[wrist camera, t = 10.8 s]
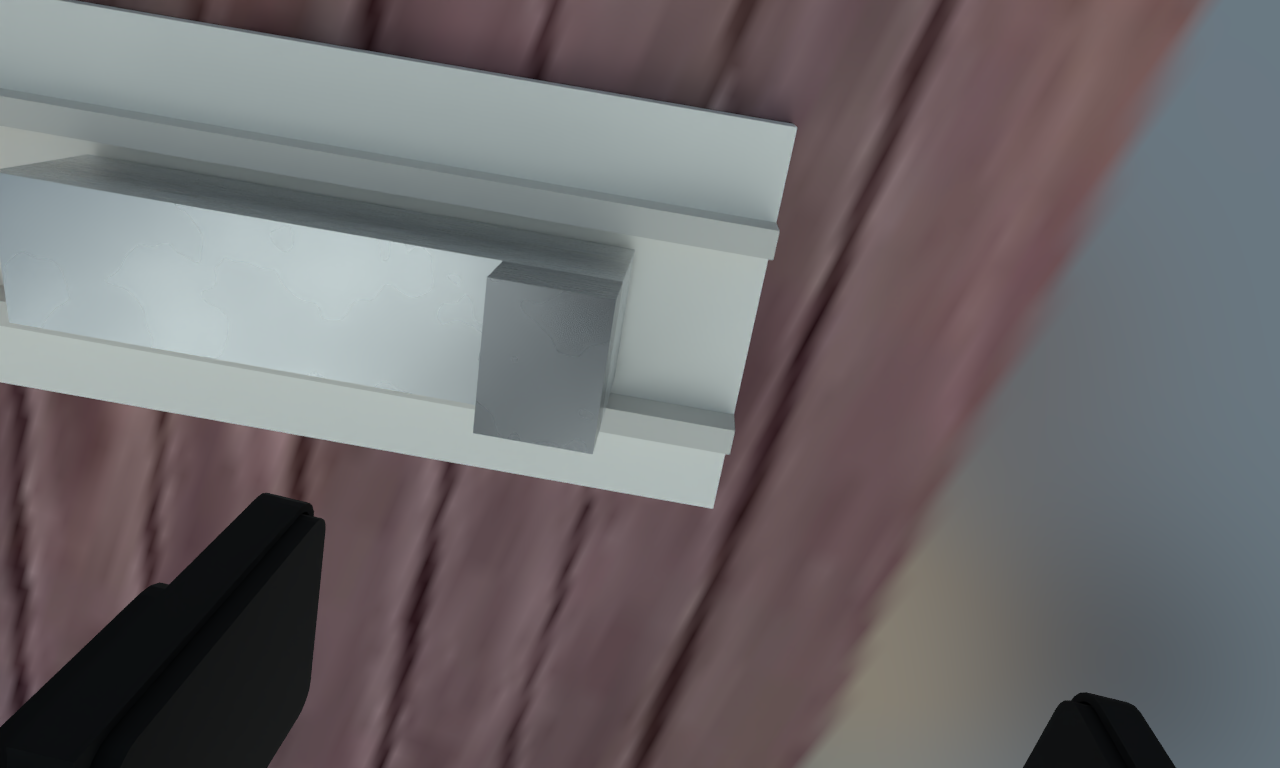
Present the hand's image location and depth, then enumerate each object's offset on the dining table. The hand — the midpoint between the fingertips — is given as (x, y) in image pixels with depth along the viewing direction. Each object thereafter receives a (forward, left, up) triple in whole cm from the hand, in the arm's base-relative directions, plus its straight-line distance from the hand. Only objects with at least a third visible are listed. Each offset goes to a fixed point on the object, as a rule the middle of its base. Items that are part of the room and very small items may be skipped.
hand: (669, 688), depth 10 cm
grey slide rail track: (0, +15, -17) cm, 23 cm away
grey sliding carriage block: (0, +10, -15) cm, 18 cm away
